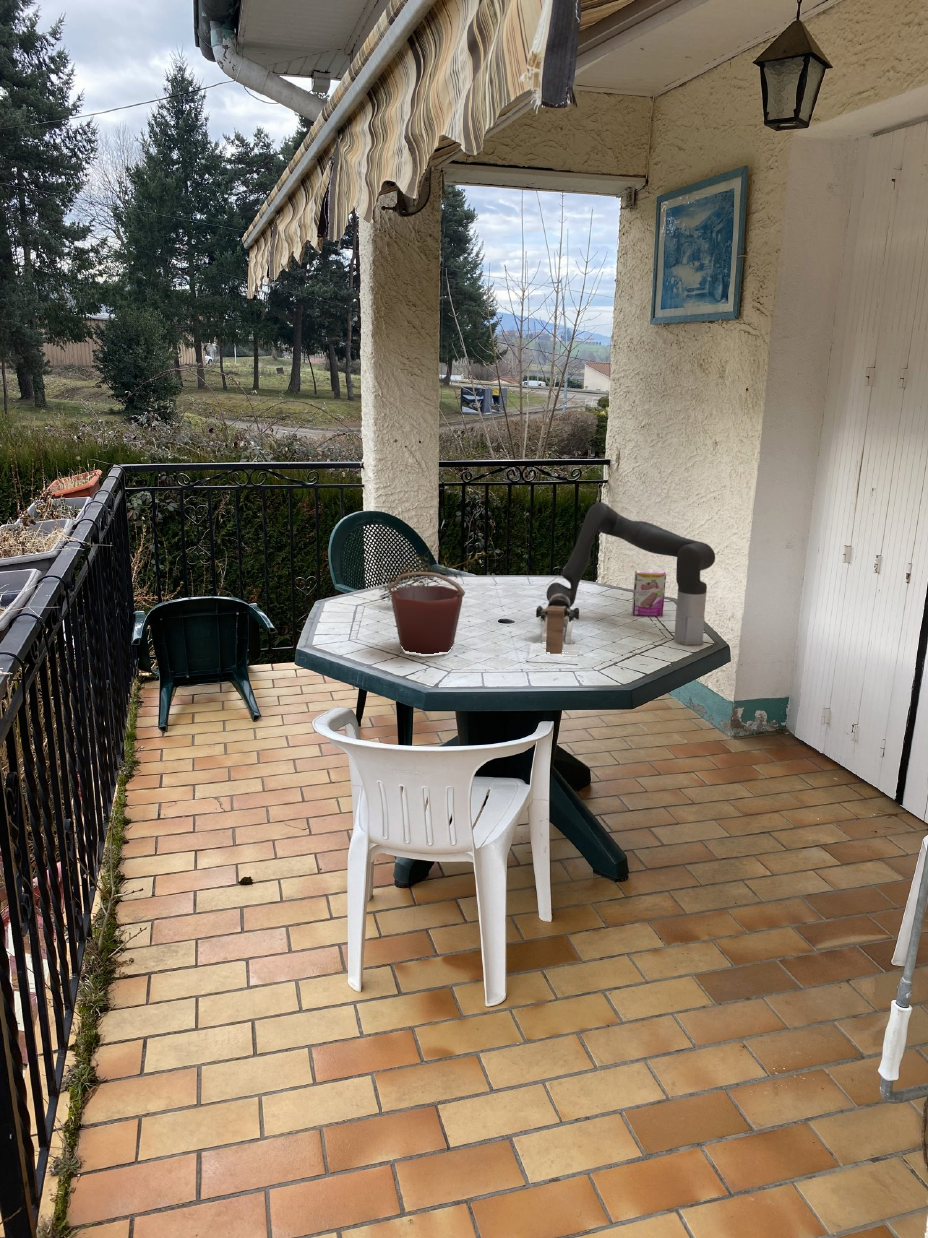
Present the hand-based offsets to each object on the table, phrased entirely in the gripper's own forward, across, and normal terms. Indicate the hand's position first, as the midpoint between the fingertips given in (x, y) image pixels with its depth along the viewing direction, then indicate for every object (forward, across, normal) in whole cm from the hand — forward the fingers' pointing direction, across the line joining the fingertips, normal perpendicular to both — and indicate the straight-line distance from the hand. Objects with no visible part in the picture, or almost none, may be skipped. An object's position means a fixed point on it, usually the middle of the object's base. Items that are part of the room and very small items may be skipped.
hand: (556, 618), depth 292 cm
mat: (+10, 0, +9) cm, 13 cm away
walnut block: (+8, 0, +9) cm, 12 cm away
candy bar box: (-46, +32, +9) cm, 57 cm away
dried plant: (-38, -48, +9) cm, 62 cm away
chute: (-13, 0, +9) cm, 16 cm away
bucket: (+12, -41, +9) cm, 44 cm away
